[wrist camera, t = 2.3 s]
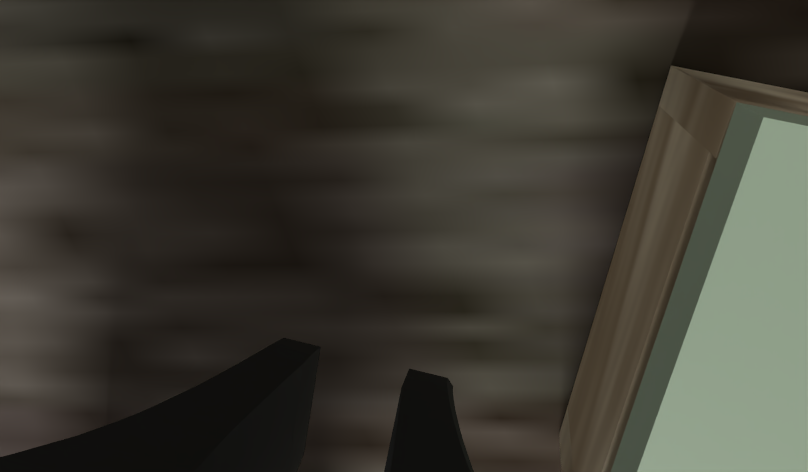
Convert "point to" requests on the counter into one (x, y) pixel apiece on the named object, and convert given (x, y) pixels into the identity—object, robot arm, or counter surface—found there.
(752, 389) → the lid
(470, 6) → the counter surface
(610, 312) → the cubby
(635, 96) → the counter surface
